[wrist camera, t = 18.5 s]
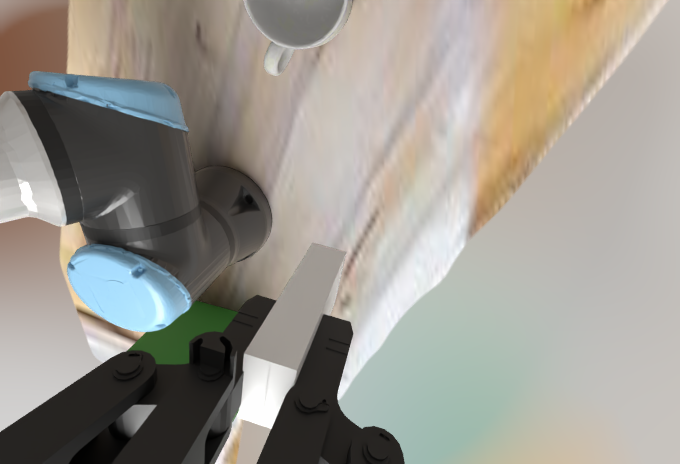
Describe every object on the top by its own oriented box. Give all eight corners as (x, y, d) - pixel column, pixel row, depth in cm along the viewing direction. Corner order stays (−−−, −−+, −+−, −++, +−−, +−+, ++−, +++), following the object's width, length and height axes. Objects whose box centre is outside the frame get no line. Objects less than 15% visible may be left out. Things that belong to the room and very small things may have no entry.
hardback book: (184, 327, 70) (79, 443, 49) (182, 296, 67) (69, 407, 46) (270, 351, 68) (199, 484, 47) (272, 321, 65) (197, 450, 44)
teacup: (301, -85, 39) (273, -116, 32) (381, -17, 40) (371, -33, 33) (243, 36, 45) (209, 32, 38) (313, 92, 46) (292, 98, 39)
